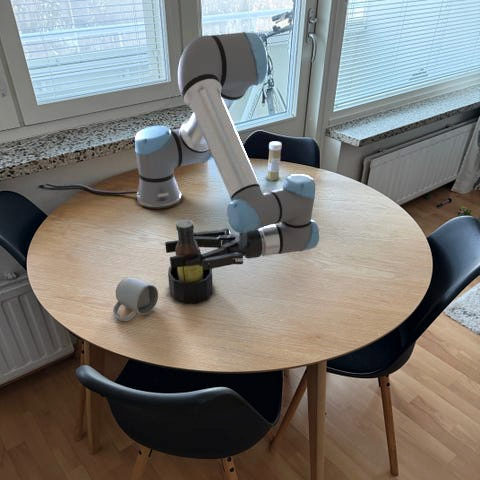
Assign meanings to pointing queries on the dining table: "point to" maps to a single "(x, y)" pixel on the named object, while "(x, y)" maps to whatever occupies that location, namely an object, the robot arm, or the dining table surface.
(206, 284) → the cup
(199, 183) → the dining table surface
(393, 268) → the dining table surface
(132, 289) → the ceramic mug
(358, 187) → the dining table surface
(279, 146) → the sprinkles bottle
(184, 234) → the sauce bottle
